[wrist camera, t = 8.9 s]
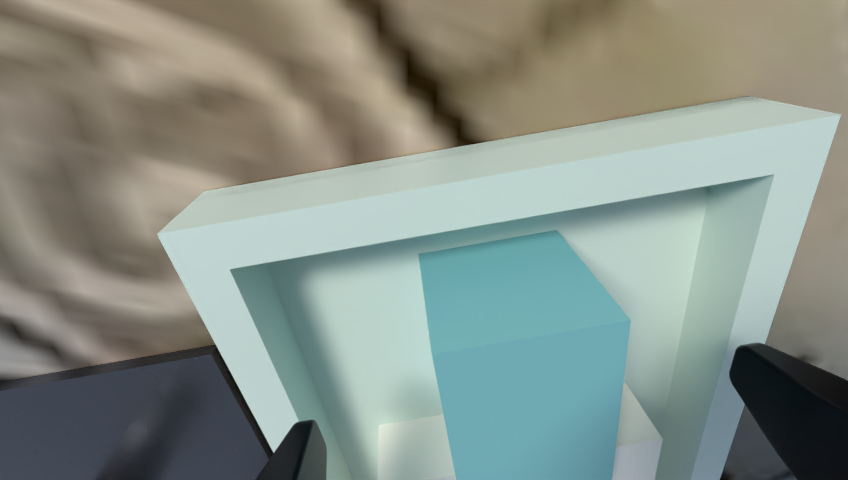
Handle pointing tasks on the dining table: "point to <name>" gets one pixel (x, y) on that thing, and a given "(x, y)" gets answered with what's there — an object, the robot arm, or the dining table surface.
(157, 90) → the dining table surface
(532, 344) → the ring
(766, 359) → the robot arm
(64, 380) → the peg stand
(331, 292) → the tray
